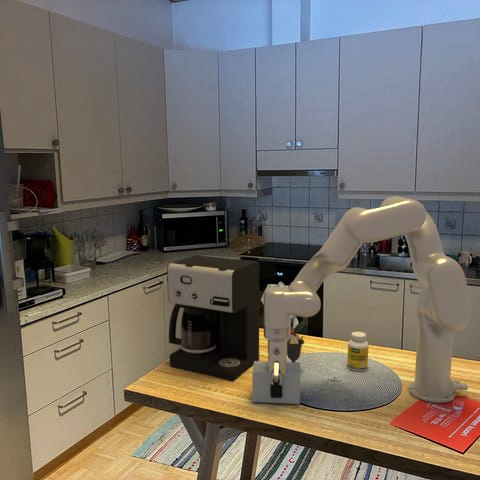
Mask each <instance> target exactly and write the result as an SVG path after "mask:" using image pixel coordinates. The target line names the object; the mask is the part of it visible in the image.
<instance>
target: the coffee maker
mask: <svg viewBox="0 0 480 480" xmlns="http://www.w3.org/2000/svg"><path fill="white" fill-rule="evenodd" d="M166 270H167V271H166V272H167V273H166V275H167V276H166V277H167V278H166V279H167V281H166V282H167V301H168V303H170V304H174V307H173V308H172V311H171V315H170V319H169V327H168V343H169V344H173V345H176V346H180V348H179V349H177V350H175V351H174V352H172V353H170V354H169V367H170V368H174V369H177V370H182V371H185V372H191V373H195V374H199V375H204V376H209V377H212V378H215V379H216V378H217V379H221V380H225V381H229V382H235V381H236V380H237V379H238V378H240V377H241V376H242V375H243V374H244V373H246V372H247V371H248V370H249V369H250V368H252V367H253V366H254V361H259V360H260V262H259V261H257V260H249V259H248V260H247V259H239V258H238V259H237V258H228V257H227V258H226V257H218V256H207V255H197V254H196V255H193V256H189V257H186V258H182V259H180V260H177V261H174V262H171V263H170V262H169V264H168V265H167V268H166ZM180 309H183V312H182V315H181V322H180V323H181V324H180V338H178V337H177V334H176V333H177V322H178V317H179V312H180Z"/></svg>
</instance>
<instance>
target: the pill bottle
mask: <svg viewBox="0 0 480 480" xmlns="http://www.w3.org/2000/svg"><path fill="white" fill-rule="evenodd" d="M350 335H351V338H350V340H349V341H348V343H347V362H346V363H347V364H346V365H347V367H348V369H349V370H351V369H352V371H354V370H355V371H354V372H364V371H366V370H367V369H368V364H369V362H368V361H369V348H370V347H369V342H368V341H366V339H367V334H366V333H365V332H362V331H354V332H353V331H352V332H351V334H350Z"/></svg>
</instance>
